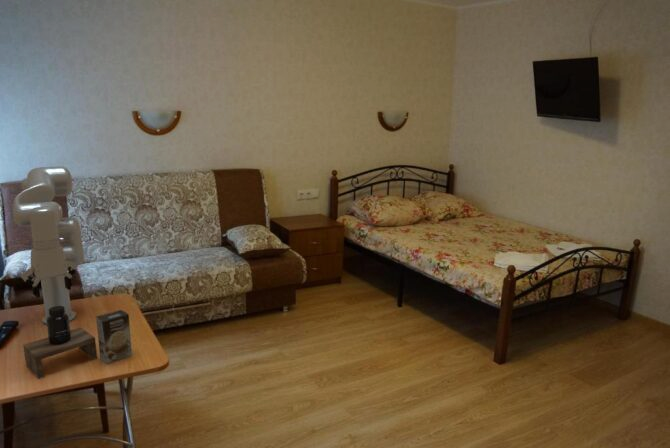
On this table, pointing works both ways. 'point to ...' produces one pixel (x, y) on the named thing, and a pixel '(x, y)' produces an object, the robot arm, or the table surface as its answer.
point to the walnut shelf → (58, 349)
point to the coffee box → (114, 336)
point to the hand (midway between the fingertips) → (53, 292)
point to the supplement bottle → (58, 326)
